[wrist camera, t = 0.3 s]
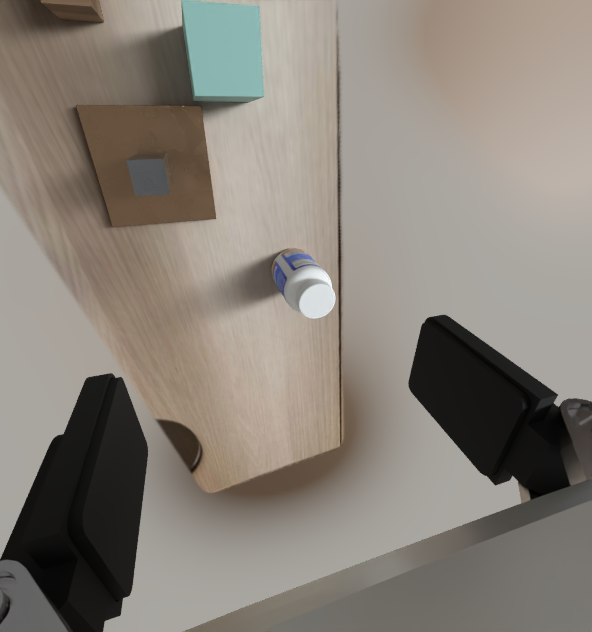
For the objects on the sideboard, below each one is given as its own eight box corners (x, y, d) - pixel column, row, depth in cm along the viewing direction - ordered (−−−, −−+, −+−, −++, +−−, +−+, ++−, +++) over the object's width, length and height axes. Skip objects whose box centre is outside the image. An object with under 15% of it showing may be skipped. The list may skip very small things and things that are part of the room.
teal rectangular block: (182, 25, 26) (181, -1, 21) (245, 29, 28) (259, 6, 22) (193, 101, 29) (195, 95, 24) (249, 101, 30) (263, 96, 25)
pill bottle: (292, 294, 42) (317, 334, 34) (261, 272, 39) (281, 309, 31) (319, 263, 41) (352, 296, 33) (290, 238, 38) (317, 267, 30)
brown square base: (79, 105, 27) (50, 100, 21) (200, 106, 29) (204, 101, 24) (114, 224, 32) (99, 245, 26) (215, 216, 35) (221, 234, 29)
